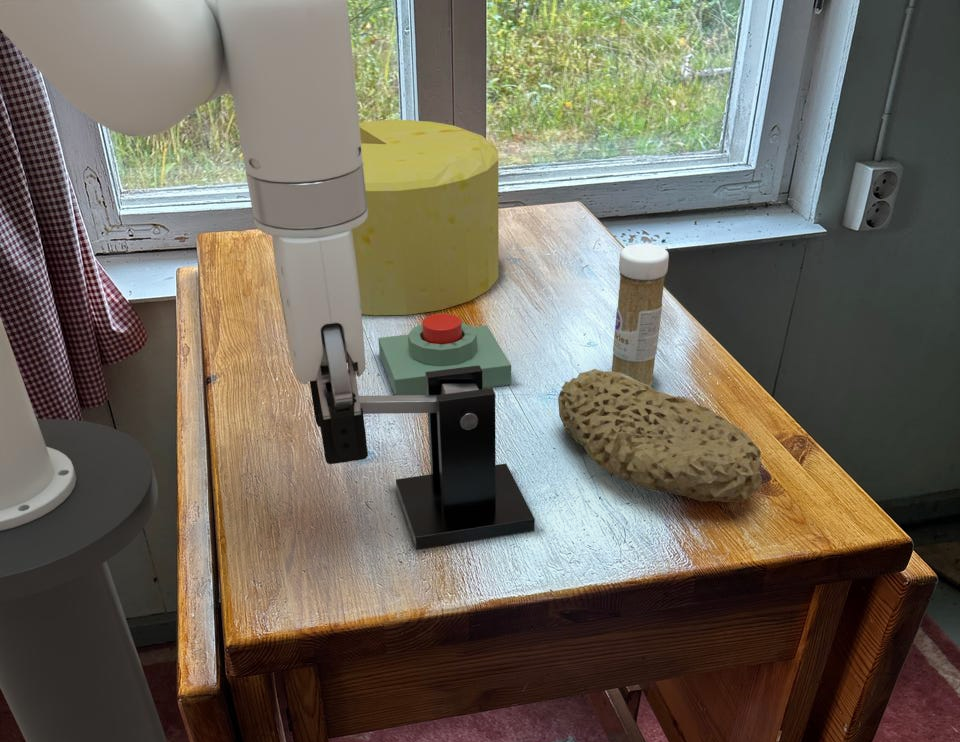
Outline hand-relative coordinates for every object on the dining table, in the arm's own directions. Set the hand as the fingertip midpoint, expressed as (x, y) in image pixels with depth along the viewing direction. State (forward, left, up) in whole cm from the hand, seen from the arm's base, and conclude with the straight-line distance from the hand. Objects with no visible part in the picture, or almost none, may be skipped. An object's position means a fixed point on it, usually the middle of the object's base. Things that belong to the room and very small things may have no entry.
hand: (341, 438), depth 76 cm
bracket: (+10, 0, -8) cm, 13 cm away
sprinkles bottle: (+32, +18, -9) cm, 37 cm away
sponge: (+28, +2, -9) cm, 29 cm away
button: (+14, +26, -5) cm, 30 cm away
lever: (+5, 0, +1) cm, 5 cm away
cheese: (+14, +54, -9) cm, 56 cm away
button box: (+14, +26, -8) cm, 30 cm away
